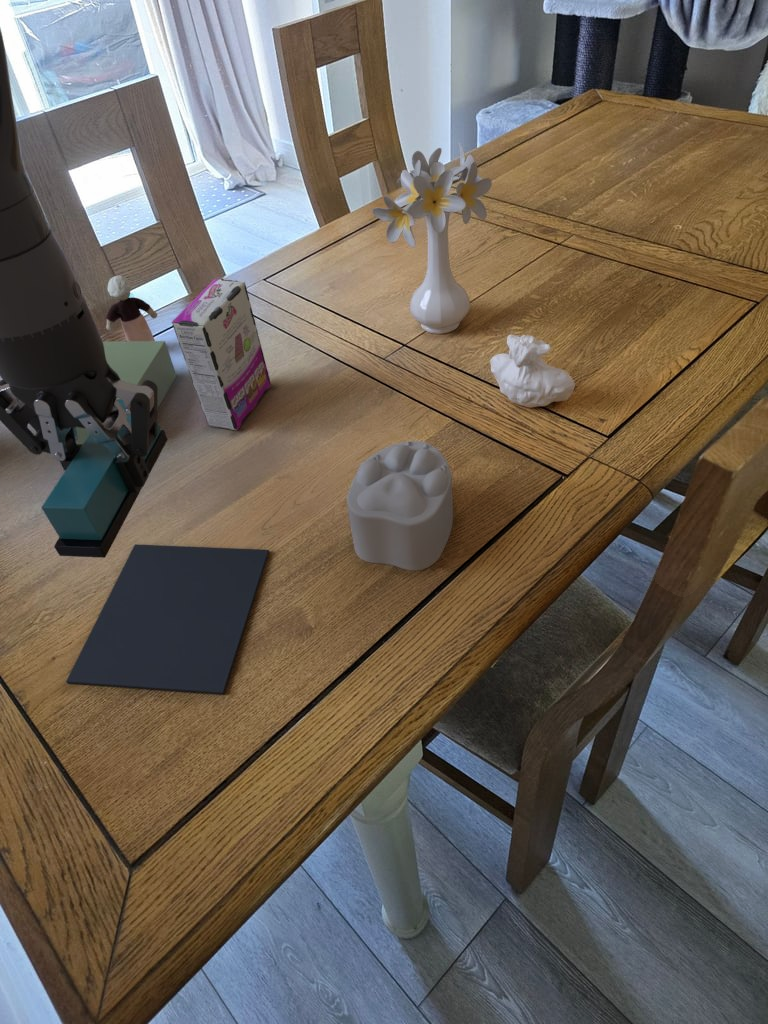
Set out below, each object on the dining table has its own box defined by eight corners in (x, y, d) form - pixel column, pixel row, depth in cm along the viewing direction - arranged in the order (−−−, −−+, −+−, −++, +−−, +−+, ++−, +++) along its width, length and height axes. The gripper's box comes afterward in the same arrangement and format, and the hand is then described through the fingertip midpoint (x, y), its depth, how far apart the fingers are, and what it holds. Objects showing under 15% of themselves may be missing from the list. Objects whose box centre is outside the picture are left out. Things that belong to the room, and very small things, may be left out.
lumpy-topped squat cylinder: (344, 557, 76) (333, 500, 70) (381, 479, 85) (375, 423, 79) (435, 575, 74) (432, 518, 67) (464, 493, 82) (464, 435, 76)
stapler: (105, 558, 56) (82, 516, 52) (59, 556, 56) (33, 514, 53) (168, 439, 66) (152, 397, 63) (128, 438, 67) (111, 397, 63)
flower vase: (374, 347, 106) (356, 176, 89) (431, 292, 117) (426, 130, 99) (450, 366, 101) (447, 189, 83) (503, 307, 112) (510, 139, 94)
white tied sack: (487, 400, 98) (462, 371, 88) (509, 351, 98) (486, 316, 88) (566, 426, 93) (548, 398, 83) (589, 374, 93) (575, 340, 83)
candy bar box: (242, 381, 103) (213, 277, 91) (272, 385, 101) (247, 280, 90) (204, 427, 95) (169, 320, 84) (237, 432, 94) (205, 324, 82)
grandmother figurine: (159, 338, 114) (133, 264, 105) (170, 347, 111) (144, 272, 102) (115, 357, 110) (85, 282, 101) (126, 366, 108) (95, 291, 99)
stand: (66, 446, 95) (48, 411, 91) (115, 375, 107) (101, 341, 102) (135, 447, 93) (119, 412, 89) (177, 375, 105) (165, 340, 101)
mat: (67, 683, 68) (65, 681, 67) (135, 546, 80) (134, 544, 80) (224, 694, 65) (222, 692, 65) (269, 551, 78) (268, 549, 78)
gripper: (-97, 334, 47) (18, 513, 59) (99, 333, 45) (177, 518, 57) (-36, 281, 52) (58, 456, 64) (142, 277, 50) (205, 458, 62)
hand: (114, 484), depth 60 cm, fingers closed on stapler, 4 cm apart
